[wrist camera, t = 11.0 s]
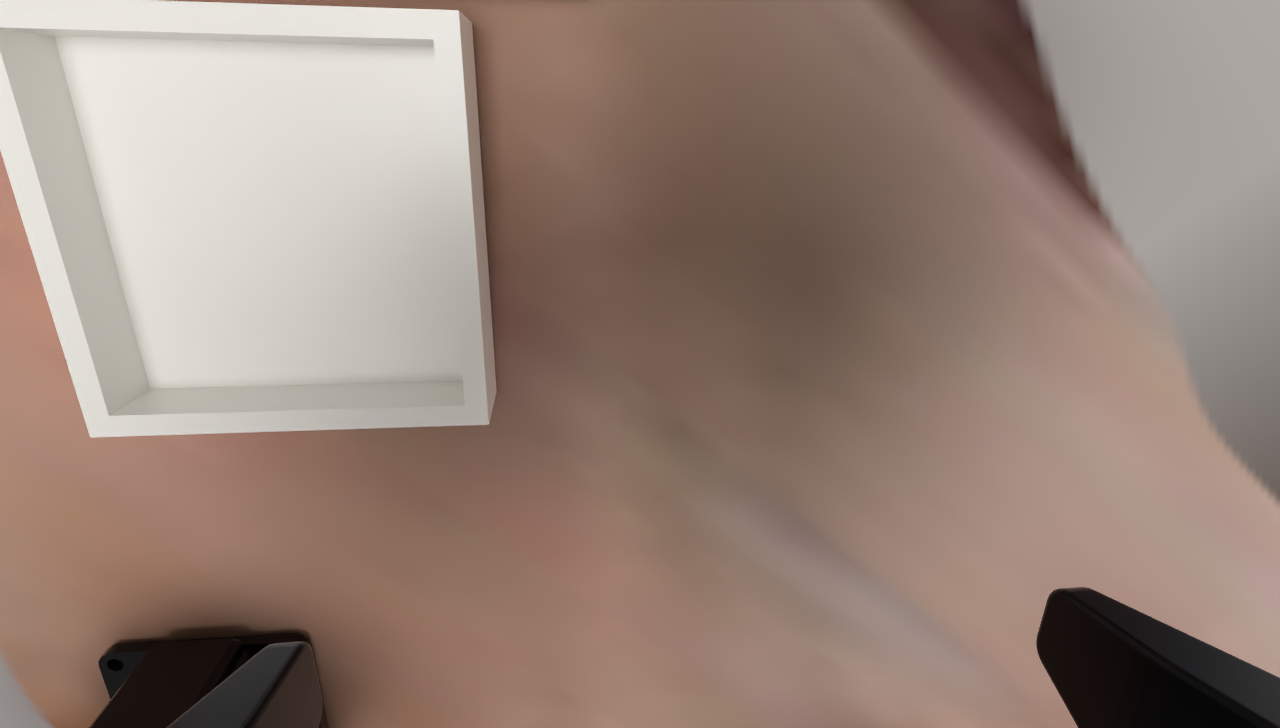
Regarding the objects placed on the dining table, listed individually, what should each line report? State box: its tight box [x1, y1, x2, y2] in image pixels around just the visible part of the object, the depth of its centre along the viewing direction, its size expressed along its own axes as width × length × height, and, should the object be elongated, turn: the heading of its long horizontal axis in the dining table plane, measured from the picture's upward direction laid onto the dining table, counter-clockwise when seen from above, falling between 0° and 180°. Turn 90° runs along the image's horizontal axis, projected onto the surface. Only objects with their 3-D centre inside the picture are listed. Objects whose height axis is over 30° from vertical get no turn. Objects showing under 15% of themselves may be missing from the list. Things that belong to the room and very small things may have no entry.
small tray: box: [0, 0, 497, 437], centre depth 17 cm, size 10×10×2 cm
